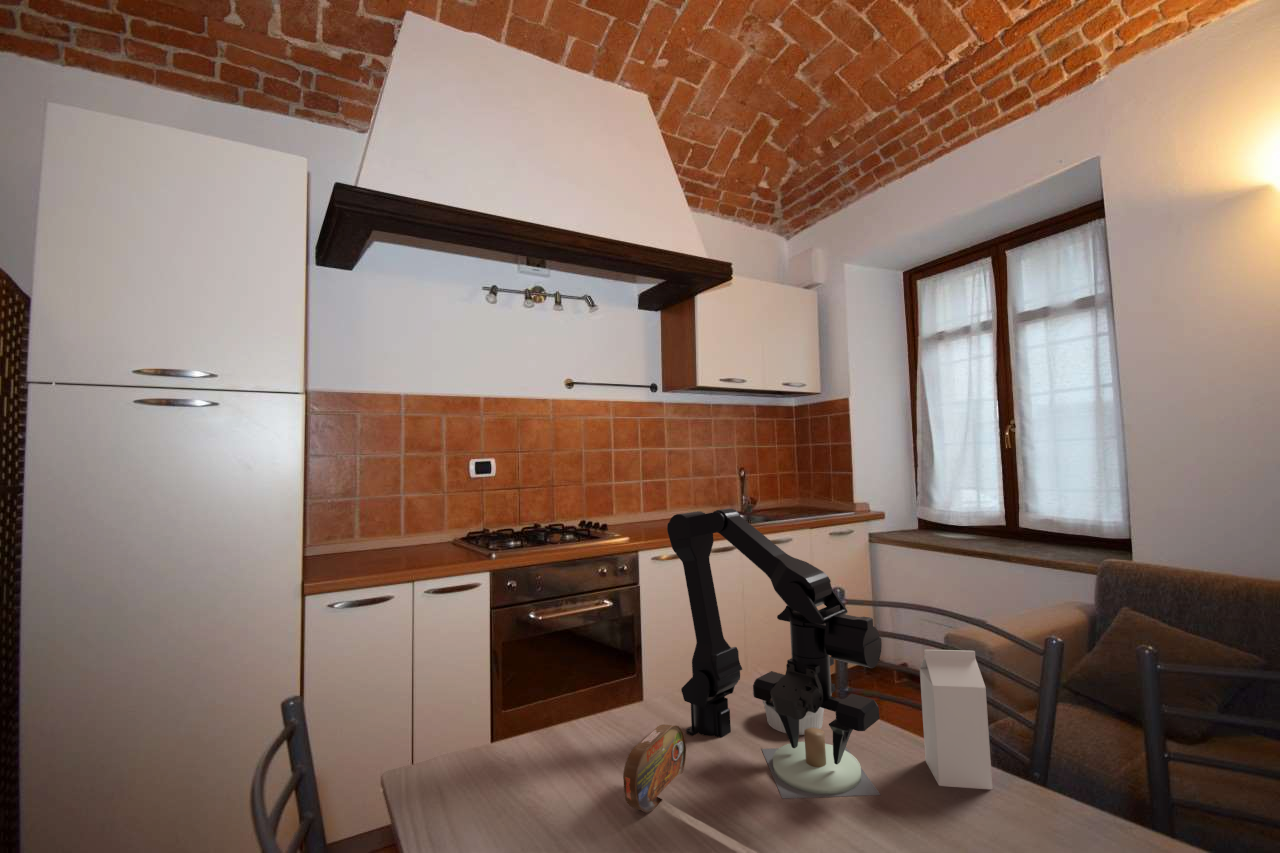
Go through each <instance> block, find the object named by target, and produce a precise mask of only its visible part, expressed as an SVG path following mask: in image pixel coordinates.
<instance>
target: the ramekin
mask: <svg viewBox="0 0 1280 853" xmlns="http://www.w3.org/2000/svg"><path fill="white" fill-rule="evenodd" d="M765 702H766V701H764V700H762V704H763V706H764V710H765V715H766V720H767V724H768V725H769V726H770V728H772V729H774V730H775V731H778V732H781V733H784V734H787V733H786V731H785V728H784V726H783V723H782V721H781V719H780V717H779V715H778V713H776V711H775V710H774V709H772V708H771V707H769V706H767V705H766V703H765ZM824 710H825V709H824V708H821V707H820V708H819V709H818V711H817V712H816V713H813V712H807V713H806V715H805V717H804V718H803V719H800V720H799V736H802V735H804V736H805V733H804V731H805V729H807V728H818V729H821V730H822V727H823V722H824V713H825V712H824Z"/></svg>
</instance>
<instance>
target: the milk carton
mask: <svg viewBox="0 0 1280 853" xmlns="http://www.w3.org/2000/svg"><path fill="white" fill-rule="evenodd" d="M923 653H924V655H923V656H924V657H923V659H922V661H921V664H920V665H919V678H920V679H919V680H920V694H921V711H922V712H921V713H922V725H923V744H924V758H925V759H924V761H925V763H926V764H927V766H928V769H929V770H930V772H931V773H932V775H933V777H934V780H935V781H936V783H937V784H938V786H939V787H950V788H951V787H952V788H963V789H965V788H966V789H978V790H979V789H980V790H993V777H992V776H993V775H992V763H991V760H992V759H991V747H990V734H989V733H990V732H989V720H988V718H989V717H988V703H987V702H988V701H987V691H986V689H987V688H986V685H985V682H984V679H983V675H982V673H981V669H980V668H979V664H978V661H977V659H976V651H975V650H956V649H955V650H953V649H924V650H923Z"/></svg>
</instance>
